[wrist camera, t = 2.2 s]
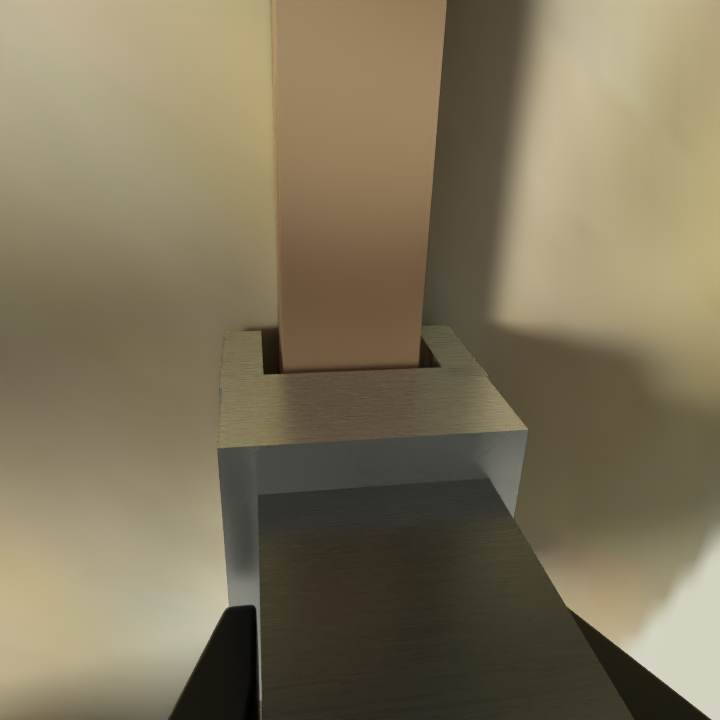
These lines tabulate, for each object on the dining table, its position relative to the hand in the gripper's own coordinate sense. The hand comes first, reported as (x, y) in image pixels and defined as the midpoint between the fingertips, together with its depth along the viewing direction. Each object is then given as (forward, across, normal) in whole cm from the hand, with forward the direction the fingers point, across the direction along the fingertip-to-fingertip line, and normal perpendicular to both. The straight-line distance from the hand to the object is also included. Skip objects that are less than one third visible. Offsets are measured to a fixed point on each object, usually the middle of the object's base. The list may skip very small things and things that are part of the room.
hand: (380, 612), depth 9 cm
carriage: (+5, 0, 0) cm, 5 cm away
